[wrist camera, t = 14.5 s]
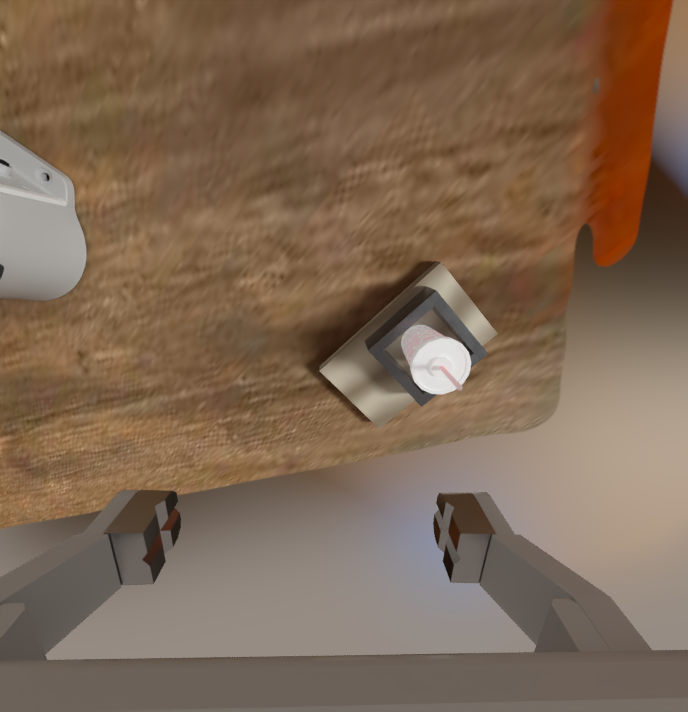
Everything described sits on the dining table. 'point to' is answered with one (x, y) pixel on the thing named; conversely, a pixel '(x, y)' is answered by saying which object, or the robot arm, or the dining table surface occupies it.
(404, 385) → the cup collar
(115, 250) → the dining table surface
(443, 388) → the beverage cup
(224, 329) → the dining table surface
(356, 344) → the socket board
